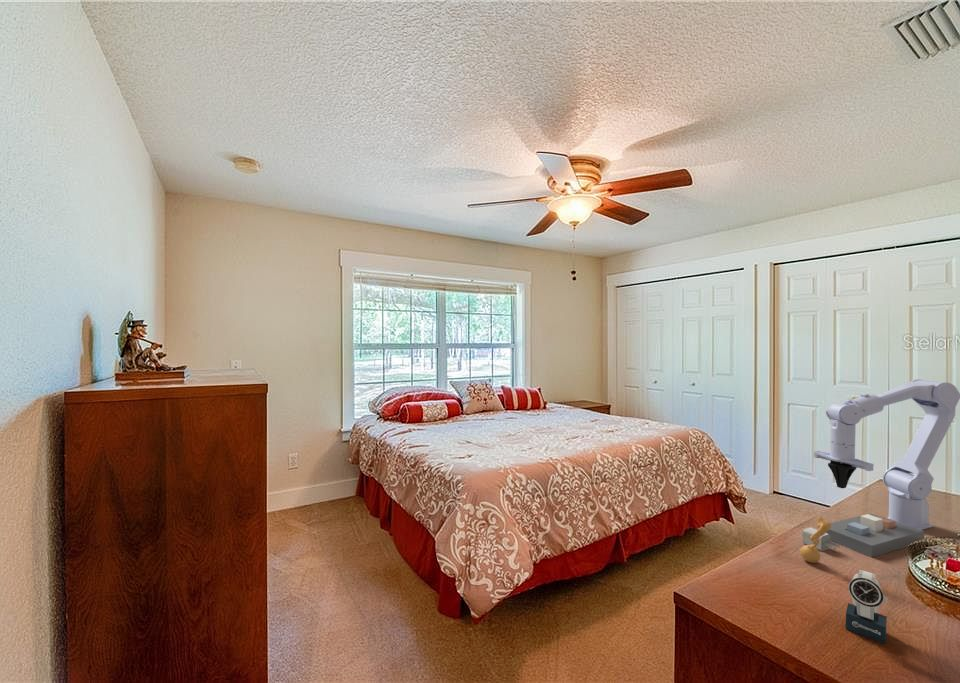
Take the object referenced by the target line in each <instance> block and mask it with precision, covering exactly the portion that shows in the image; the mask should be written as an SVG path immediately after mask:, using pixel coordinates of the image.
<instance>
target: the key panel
mask: <svg viewBox="0 0 960 683" xmlns="http://www.w3.org/2000/svg"><path fill="white" fill-rule="evenodd" d="M868 514H869V515H872V516H875V517H878V516H879V515H877V514H874V513H868ZM860 516H861V515H858V516H853V517H850V518H846V519H842V520H838V521H832V522H830V524H831V528H830V529H829V530H828V531H827V532H826V533H827V534H829V535H830V541H831V542H833V543H836V544H838V545H839V546H842V547H845V548H847V549H850V550H853V551H855V552H858V553H860V554H862V555H864V556H867V557H870V558H874V557H877V556H881V555H884V554H888V553H891V552H894V551H897V550H900V549H901V550H902V549H904V548H907V546H908V545H910V544H911V543H913V542H915V541H918V540H922V539H924V540H925V530H924V529H923V530H920V529H917V528H914V527H911V526H908V525H905V524H902V523H899V522H896V521H895V528H892V529H887V528H884V527H883V531H881V532H877V533H875V532H873V531H870V530H869V535H866V536H861V535H858V534H855V533H853V532H850V531H847V524H849V523H853V522H856V523H859V524H860ZM908 547H909V546H908Z"/></svg>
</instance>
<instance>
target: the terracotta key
mask: <svg viewBox="0 0 960 683" xmlns="http://www.w3.org/2000/svg"><path fill="white" fill-rule="evenodd" d="M877 516H878V518H881V519H883V527H884V528H887V529H892V528H895V521H894V520H891V519H888V518H887V517H885V516H881V515H877Z"/></svg>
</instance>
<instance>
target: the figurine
mask: <svg viewBox="0 0 960 683" xmlns="http://www.w3.org/2000/svg"><path fill="white" fill-rule="evenodd" d="M816 520H817V522H818V523H817V530H818V531H817V532H816V533H814V534H813V535H812V536H810V538H809V539H811V540H812V542H813V543H814V545H812V544H811V545H806V544H804V545H803V546H802V547H801V548H800V549H799V553H800V556H801V557H802V559H804V561H805V562H808V563H812V564H814V563H815V564H817V562H819V561H820V560H821V553H820V550H818V549H816V548H815V547H816V546H817V545H818V544H819V540H818V539H817V538H819V537H820V536H822V535H824V534H825V533H826V532H827V531H828V530H829V529H830V528H831V524H830V523H831V522H829V521H827V520H825V519H824V518H822V517H821V516H817V518H816ZM814 539H815V540H814Z"/></svg>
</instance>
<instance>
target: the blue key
mask: <svg viewBox="0 0 960 683" xmlns="http://www.w3.org/2000/svg"><path fill="white" fill-rule="evenodd" d="M869 529H870V527H867V526H864V525H861V524H859V523H856V522H853V523H849V524H847V531H850V532H853V533H855V534H858V535H861V536H866V535H869Z"/></svg>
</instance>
